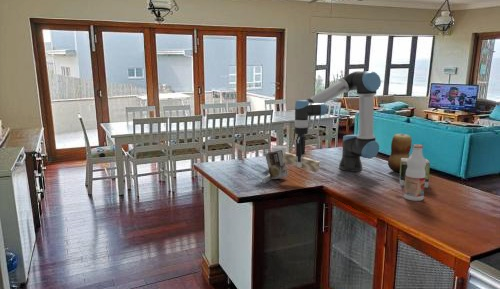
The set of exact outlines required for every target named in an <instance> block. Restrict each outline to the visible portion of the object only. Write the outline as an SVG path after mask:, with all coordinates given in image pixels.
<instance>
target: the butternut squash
mask: <svg viewBox="0 0 500 289" xmlns="http://www.w3.org/2000/svg"><path fill="white" fill-rule="evenodd" d="M411 149H412V137H411V136H410V135H409V134H404V133H395V134H394V135H393V137H392V141H391V144H390V155H389V157H388V159H387V165H388V167H389V169H390V170H391V171H392V172H394V173H400V163H401V158H409V157H410V152H411Z"/></svg>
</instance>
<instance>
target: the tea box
mask: <svg viewBox="0 0 500 289" xmlns="http://www.w3.org/2000/svg"><path fill="white" fill-rule="evenodd" d="M407 159H408V158H401V163H400V172H399V185H400V186H401V187H402V186H403V187H405V174H406V169H407ZM425 160H426V166H425V172H426V175H425V186H424V188H427V189H428V188H429V184H430V183H429V181H430V167H431V166H430V165H431V163H430V161H429V159H427V158H425Z"/></svg>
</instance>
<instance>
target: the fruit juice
mask: <svg viewBox="0 0 500 289" xmlns="http://www.w3.org/2000/svg"><path fill="white" fill-rule="evenodd" d="M411 148H412V152H411V154H410V155H409V158H408V159H407V169H406V174H405V186H403V187H404V190H403V197H404V198H405V200H409V201H415V202H419V201H423V200H424V195H425V187H424V186H425V175H426V172H425V166H426V160H425V159H426V158H425V157H424V154H423V149H424V145H423V144H417V143H415V144H413V145H411Z"/></svg>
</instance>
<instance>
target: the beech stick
mask: <svg viewBox="0 0 500 289" xmlns="http://www.w3.org/2000/svg"><path fill="white" fill-rule="evenodd" d="M320 162H321V161H319V160H316V159H314V158H313V159H312V158H310V157H305V156H304V157H302V167H299V168H300V169H304V170H306V171H307V170H308V171H310V172H314V173H317V172H319V169H320V164H321V163H320ZM283 163H285V165H286V164H287V165H290V166H294V167H295V168H298V167H297V156H296V153H291V152H288V151H287V152H285V153H284V155H283Z"/></svg>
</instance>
